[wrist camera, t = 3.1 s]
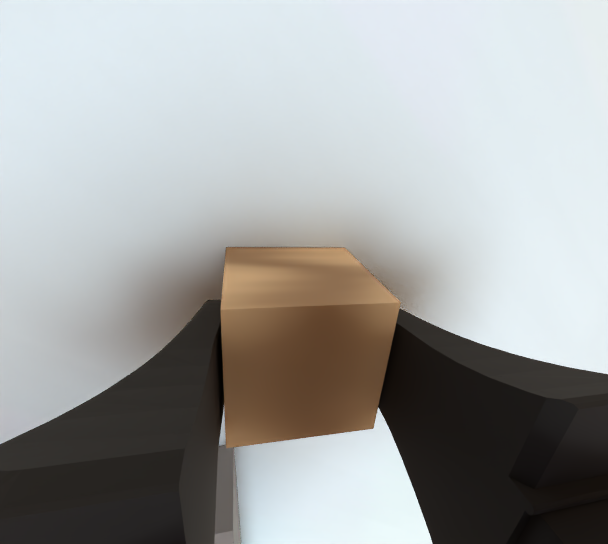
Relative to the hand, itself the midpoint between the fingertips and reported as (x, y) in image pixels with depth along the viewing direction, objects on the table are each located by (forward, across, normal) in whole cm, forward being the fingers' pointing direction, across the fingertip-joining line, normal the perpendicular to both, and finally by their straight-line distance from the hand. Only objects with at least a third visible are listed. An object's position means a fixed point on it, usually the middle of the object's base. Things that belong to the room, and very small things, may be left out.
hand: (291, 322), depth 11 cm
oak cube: (+2, 0, 0) cm, 2 cm away
